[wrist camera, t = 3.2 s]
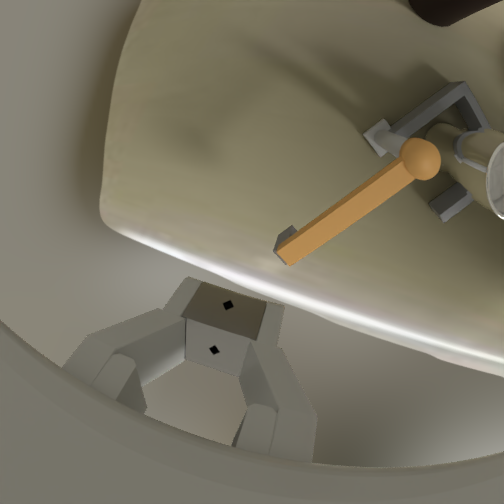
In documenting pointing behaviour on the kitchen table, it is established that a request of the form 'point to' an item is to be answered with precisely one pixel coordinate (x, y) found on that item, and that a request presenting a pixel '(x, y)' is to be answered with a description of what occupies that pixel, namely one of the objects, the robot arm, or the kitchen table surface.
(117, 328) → the robot arm
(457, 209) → the cradle
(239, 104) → the kitchen table surface
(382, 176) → the bar
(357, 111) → the kitchen table surface
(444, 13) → the bottle
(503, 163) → the beer glass
